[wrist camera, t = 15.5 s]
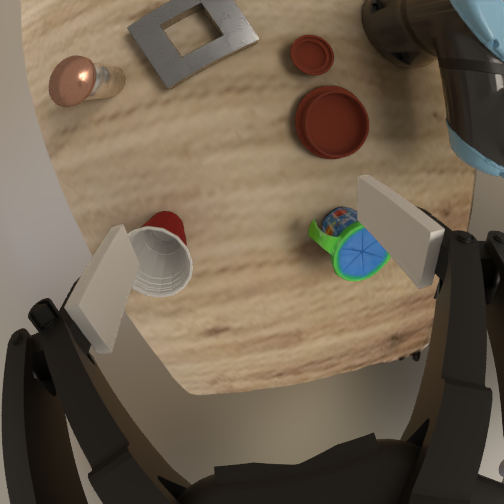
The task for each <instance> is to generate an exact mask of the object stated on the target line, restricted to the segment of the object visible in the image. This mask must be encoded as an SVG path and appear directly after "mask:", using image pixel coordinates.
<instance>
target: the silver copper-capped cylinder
mask: <svg viewBox="0 0 504 504" xmlns="http://www.w3.org/2000/svg"><path fill="white" fill-rule="evenodd" d="M124 84H125V75H124V73H123V71H122V70H121V69H119V68H117V67H113V66H108V65H103V64H98V63H93V62H92V61H91V60H90V59H88V58H86V57H82V56H71V57H68V58H66V59H64V60H63V61H61V62H60V63H59V64H58V65H57V66H56V68H55V69H54V71H53V72H52V75H51V77H50V81H49V93H50V96H51V98H52V100H53V101H54V102H55V103H56V104H57V105H59V106H62V107H69V106H74V105H77V104H80V103H81V102H83V101H84V100H90V99H100V98H111V97H114V96H116V95H117V94H118V93H120V91H121V90H122V89H123V87H124Z"/></svg>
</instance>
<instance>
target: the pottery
mask: <svg viewBox="0 0 504 504" xmlns="http://www.w3.org/2000/svg"><path fill="white" fill-rule="evenodd" d="M290 54H291V59H292V61H293V63H294V65H295V66H296V67H297V68H298V69H299V70H301V71H302V72H304V73H306V74H309V75H320V74H323V73H325V72H327V71H328V70H329V69H330V68H331V66H332V64H333V61H334V54H333V50H332V48H331V46H330V45H329V44H328V43H327V42H326V41H325V40H324V39H322V38H321V37H318V36H315V35H304V36H301V37H299V38H298V39H296V40H295V41H294V43H293V44H292V46H291V51H290ZM295 126H296V131H297V134H298V137H299V139H300V141H301V142H302V144H303V145H304V146H305V148H306V149H307V150H309V151H310V152H311V153H313V154H314V155H316V156H318V157H321V158H325V159H338V158H342V157H346V156H349V155H351V154H353V153H355V152H356V151H357V150H358V149H360V147H361V146H362V145H363V144H364V142H365V140H366V138H367V135H368V131H369V119H368V115H367V112H366V110H365V108H364V106H363V105H362V103H361V102H360V101H359V100H358V99H357V97H356V96H355V95H353V94H352V93H351V92H350V91H348V90H346V89H344V88H342V87H338V86H322V87H318V88H316V89H314V90H312V91H311V92H309V93H308V94H307V95H306V96H305V97H304V98H303V99H302V101H301V102H300V104H299V106H298V108H297V112H296V117H295Z"/></svg>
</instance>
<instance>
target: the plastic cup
mask: <svg viewBox="0 0 504 504" xmlns="http://www.w3.org/2000/svg"><path fill="white" fill-rule="evenodd" d="M127 235H128V237H129V239H130V242H131V244H132V247H133V249H134V251H135V254H136V256H137V258H138V261H139V263H140V266H139V269H138V271H137V274H136V277H135V280H134V283H133V286H132V289H134V290H136V291H138V292H140V293H142V294H144V295H146V296H152V297H158V298H161V297H166V296H172V295H174V294H176V293H178V292H179V291H181V290H182V289H184V288H185V287H186V285H187V283H188V282H189V280H190V279H191V277H192V269H193V261H192V258H191V255H190V252H189V249H188V247H187V244H186V236H185V232H184V226H183V223H182V221H181V219H180V218H179V217H178V216H177V215H176V214H174V213H172V212H167V211H163V212H159V213H157V214H156V215H154V216H153V217H152V218H151V219H150V220H149V221H148V222H146V223H145V224H144V225H143V226H142V227H141V228H138V229H135V230H132V231H131V232H130V233H128V234H127Z"/></svg>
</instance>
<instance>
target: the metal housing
mask: <svg viewBox="0 0 504 504" xmlns="http://www.w3.org/2000/svg"><path fill="white" fill-rule="evenodd" d="M201 9H203V10H204V11H205V13H206V14H207V16H208V17H209V18H210V20H211V21H212V23H213V24H214V26H215V27H216V29H217V30H218V32H219V33H220V34H221V36H222V37H220V38H218V39H216V40H214V41H212V42H210V43H208V44H206V45H204V46H202V47H200V48H198V49H197V50H195V51H193V52H191V53H189V54H188V55H186V56H184V57H183V58H182V56H181V55H180V53H179V52H178V50H177V49H176V47H175V46H174V44H173V43H172V42H171V40H170V39H169V37H168V36H167V34H166V33H165V31H164V29H166V28H167V27H169V26H171V25H172V24H174V23H176V22H178V21H179V20H181V19H183V18H185V17H187V16H189V15H191V14H193V13H195V12H197V11H199V10H201ZM127 29H128V30H129V32H130V33H131V34H132V36H133V37H134V39H135V40H136V42H137V43H138V45H139V46H140V48H141V49H142V51H143V52H144V54H145V55H146V57H147V58H148V60H149V61H150V63H151V64H152V66H153V67H154V69H155V70H156V72H157V73H158V75H159V76H160V78H161V79H162V81H163V82H164V84H165V85H166V87H167V88H168V89H172V88H174V87H175V86H177V85H178V84H180V83H182V82H183V81H185V80H187V79H188V78H190V77H192V76H193V75H195V74H197V73H198V72H200V71H202V70H204V69H206V68H207V67H209V66H211V65H213V64H215V63H217V62H219V61H220V60H222V59H224V58H226V57H228V56H230V55H232V54H234V53H236V52H239V51H241V50H243V49H245V48H247V47H249V46H251V45H254V44H256V43H257V42H258V41H259V40H260V39H259V38H258V36H257V34H256V33H255V31H254V30H253V28H252V27H251V25H250V24H249V22H248V21H247V19H246V18H245V16H244V15H243V13H242V12H241V10H240V9H239V8H238V6H237V5H236V3H235V2H234V1H233V0H171V1H169V2H167V3H166V4H164V5H162V6H160V7H159V8H157V9H155V10H153V11H152V12H150V13H149V14H147V15H145V16H144V17H142V18H141V19H139V20H138V21H136V22H134V23H133V24H132V25H130V26H129V27H127Z"/></svg>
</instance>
